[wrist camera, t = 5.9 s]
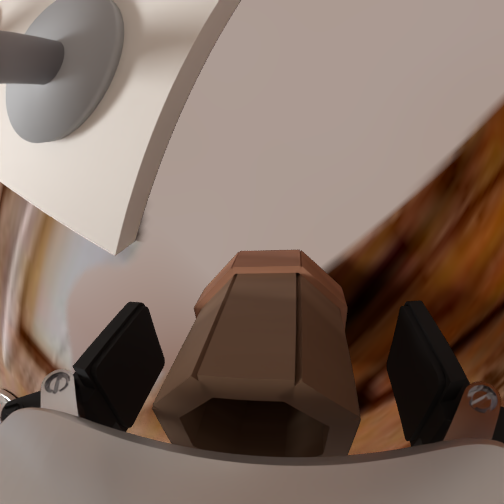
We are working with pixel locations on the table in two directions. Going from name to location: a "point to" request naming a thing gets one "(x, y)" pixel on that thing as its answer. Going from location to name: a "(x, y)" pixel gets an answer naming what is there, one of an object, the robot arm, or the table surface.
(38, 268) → the table surface
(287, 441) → the sleeve
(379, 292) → the table surface
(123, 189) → the pin board
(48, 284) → the table surface
